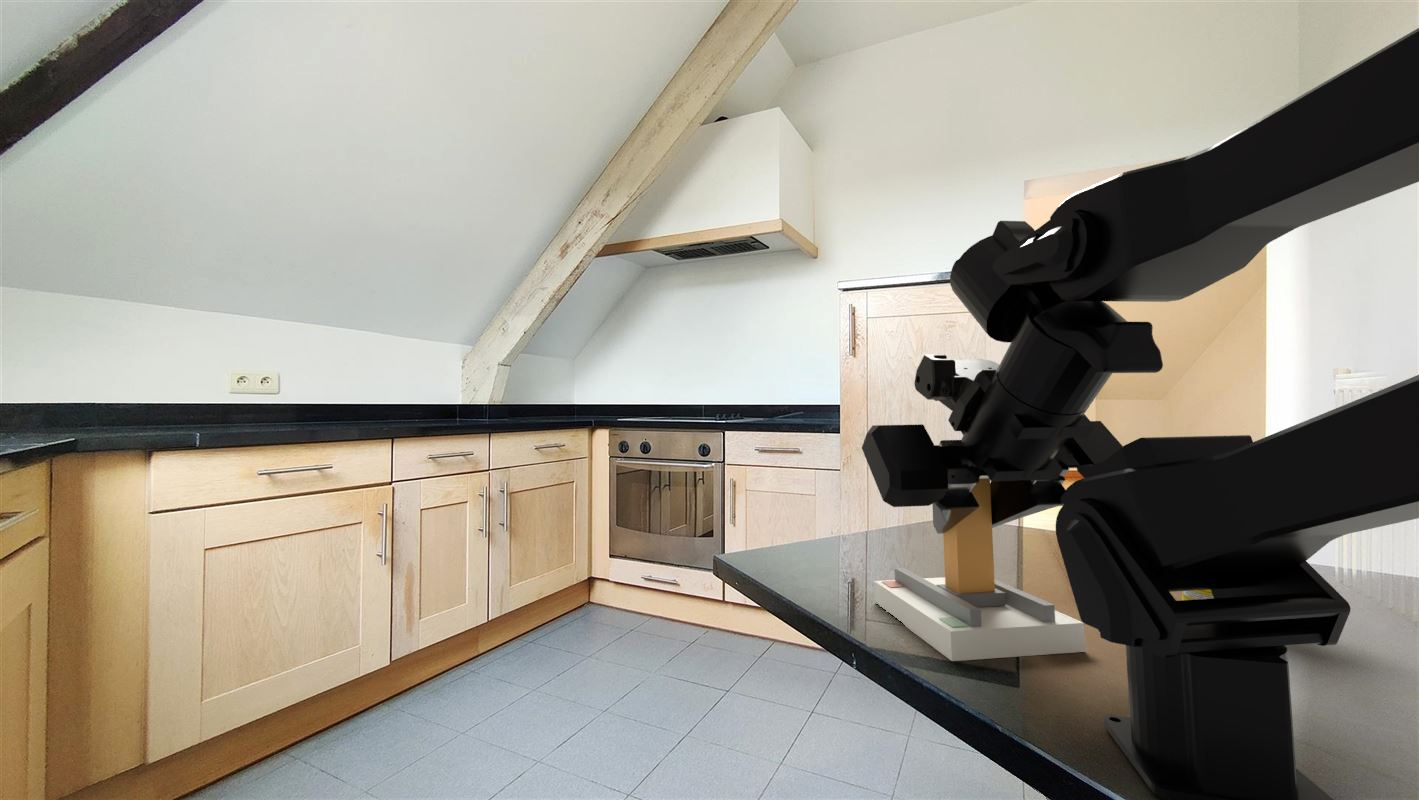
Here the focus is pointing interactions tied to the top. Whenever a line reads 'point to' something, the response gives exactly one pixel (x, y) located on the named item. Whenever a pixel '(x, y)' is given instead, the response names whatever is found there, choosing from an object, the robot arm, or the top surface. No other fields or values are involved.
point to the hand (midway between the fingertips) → (956, 528)
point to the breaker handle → (973, 554)
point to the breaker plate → (978, 620)
